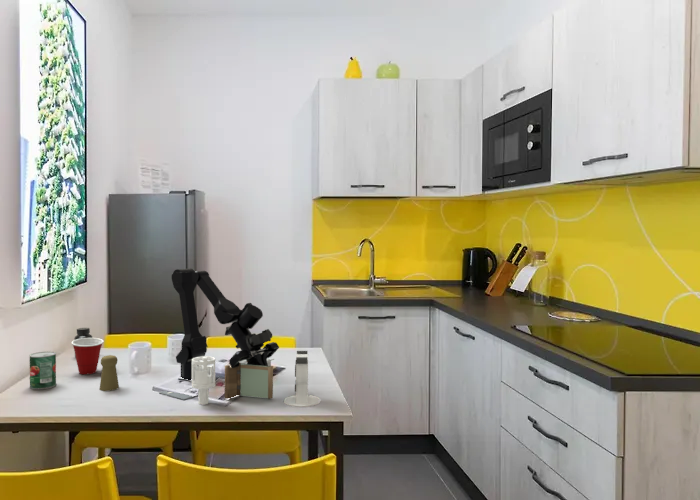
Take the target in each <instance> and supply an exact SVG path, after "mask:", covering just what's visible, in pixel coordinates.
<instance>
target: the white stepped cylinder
mask: <svg viewBox="0 0 700 500" xmlns="http://www.w3.org/2000/svg"><path fill="white" fill-rule="evenodd" d="M197 365H199V366H197ZM215 386H216V358H215V357H214V356H207V355H205V356H202V357H196V358H193V359H192V381H191V388H192V389H195V390H198V396H197V398H198V402H197V403H198V405H201V406H202V405H203V406H205V405H209V398H210V397H209V393H210V392H209V389H212V388H214V387H215Z"/></svg>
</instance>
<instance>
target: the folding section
mask: <svg viewBox="0 0 700 500" xmlns="http://www.w3.org/2000/svg"><path fill="white" fill-rule="evenodd" d="M240 397H251V398H252V397H253V398H261V399H262V398H263V399H269V400H270V399H273V397H274V366H272V365H271V366H261V365H249V364H241V396H240Z"/></svg>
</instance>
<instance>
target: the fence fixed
mask: <svg viewBox="0 0 700 500" xmlns="http://www.w3.org/2000/svg"><path fill="white" fill-rule="evenodd" d="M239 363H240V362H239ZM230 366H231V365H230V364H229V365H228V364H227V365H224V399H225V398H231V397H234V396H236V395H241V363H240V364H239V366H238V367H236V368H232V367H230Z"/></svg>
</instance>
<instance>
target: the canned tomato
mask: <svg viewBox="0 0 700 500" xmlns="http://www.w3.org/2000/svg"><path fill="white" fill-rule="evenodd" d="M56 359H57V353H56V352H55V351H39V352H33V353H31V354H29V389H31V390H47V389H51V388H54V387H55V386H57V360H56Z"/></svg>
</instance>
